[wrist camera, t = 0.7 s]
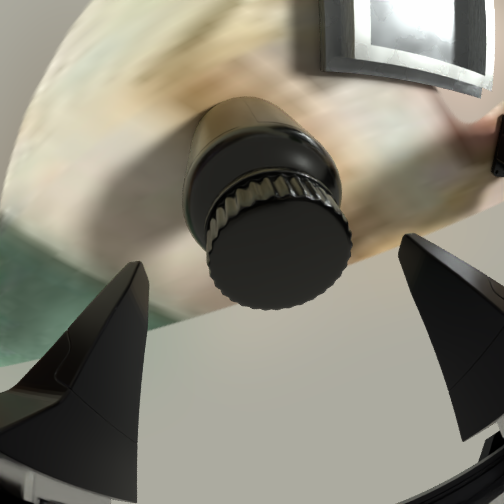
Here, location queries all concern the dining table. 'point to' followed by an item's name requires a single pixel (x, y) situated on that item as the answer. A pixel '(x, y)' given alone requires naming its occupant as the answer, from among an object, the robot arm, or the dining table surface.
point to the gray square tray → (411, 41)
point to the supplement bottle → (264, 206)
